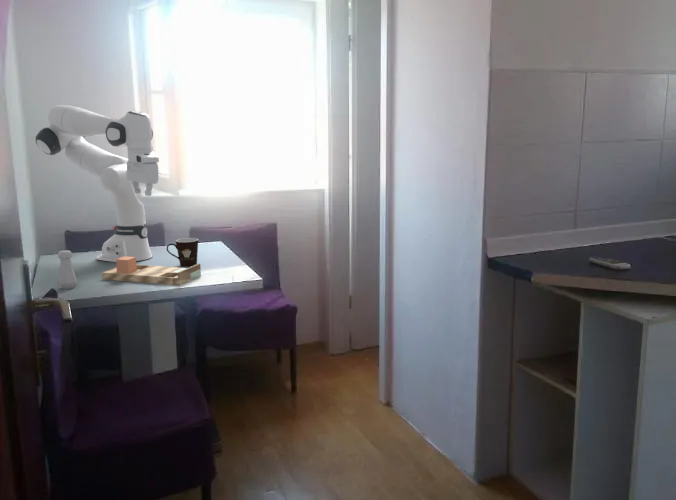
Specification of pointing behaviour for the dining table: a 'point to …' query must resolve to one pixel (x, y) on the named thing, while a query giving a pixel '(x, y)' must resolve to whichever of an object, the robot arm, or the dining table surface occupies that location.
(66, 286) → the salt shaker
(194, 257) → the coffee mug
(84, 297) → the dining table surface
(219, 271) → the dining table surface
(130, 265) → the block
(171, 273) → the trap box
